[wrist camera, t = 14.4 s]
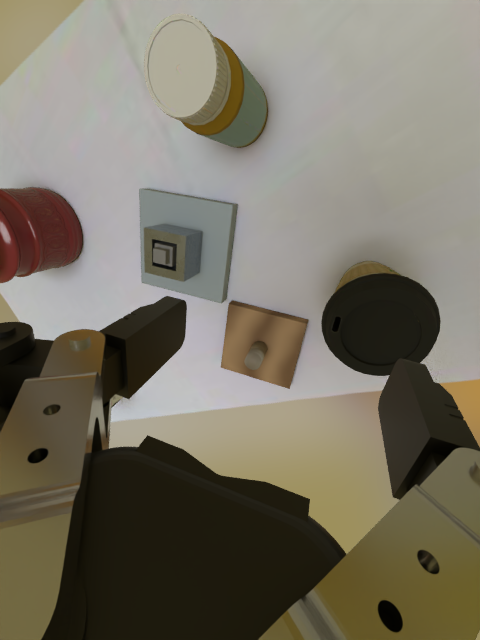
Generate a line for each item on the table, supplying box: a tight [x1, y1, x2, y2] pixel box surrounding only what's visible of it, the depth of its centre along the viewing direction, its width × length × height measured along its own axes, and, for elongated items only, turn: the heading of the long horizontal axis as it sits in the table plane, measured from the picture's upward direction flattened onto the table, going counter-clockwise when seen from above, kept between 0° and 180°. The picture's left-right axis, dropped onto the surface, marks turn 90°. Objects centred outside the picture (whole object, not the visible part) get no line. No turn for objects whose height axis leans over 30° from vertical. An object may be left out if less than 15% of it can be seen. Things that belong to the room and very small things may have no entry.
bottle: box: [144, 14, 268, 148], centre depth 28 cm, size 7×7×15 cm
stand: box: [221, 301, 308, 389], centre depth 43 cm, size 12×12×6 cm
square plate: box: [139, 189, 238, 303], centre depth 40 cm, size 14×14×8 cm
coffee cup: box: [322, 261, 440, 376], centre depth 31 cm, size 10×10×15 cm
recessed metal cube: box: [144, 224, 203, 282], centre depth 39 cm, size 6×6×5 cm
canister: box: [0, 187, 82, 283], centre depth 42 cm, size 13×13×18 cm
